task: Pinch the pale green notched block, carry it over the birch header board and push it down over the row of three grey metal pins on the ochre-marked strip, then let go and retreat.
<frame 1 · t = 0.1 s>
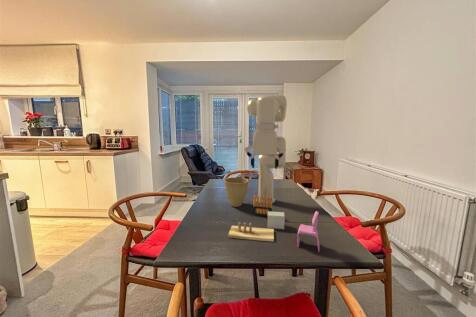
hand: (264, 167, 90), 31 cm above the table, fingers open, 9 cm apart
header board: (251, 234, 95), on the table
ammunition clip: (262, 215, 116), on the table
pale green notched block: (275, 226, 103), on the table
toy chair: (308, 246, 87), on the table
plant pot: (236, 204, 131), on the table
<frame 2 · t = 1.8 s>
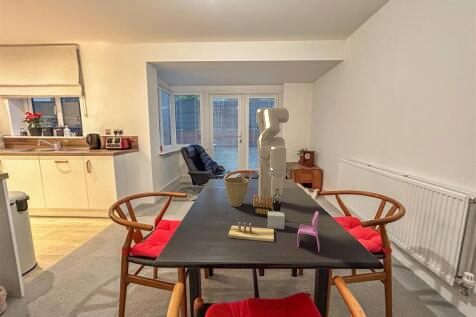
hand: (276, 207, 101), 10 cm above the table, fingers open, 9 cm apart
nothing on the table moved.
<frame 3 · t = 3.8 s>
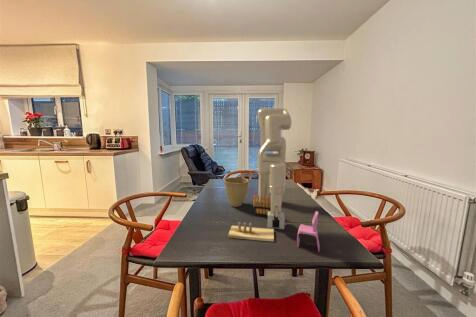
hand: (275, 224, 103), 1 cm above the table, fingers closed on pale green notched block, 4 cm apart
pale green notched block: (275, 226, 103), on the table, touching gripper
everything else where it was.
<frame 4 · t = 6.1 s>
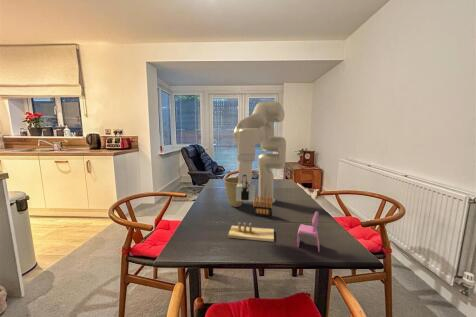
hand: (245, 197, 93), 17 cm above the table, fingers closed on pale green notched block, 4 cm apart
pale green notched block: (245, 199, 93), point 16 cm above the table, touching gripper
everything else where it was.
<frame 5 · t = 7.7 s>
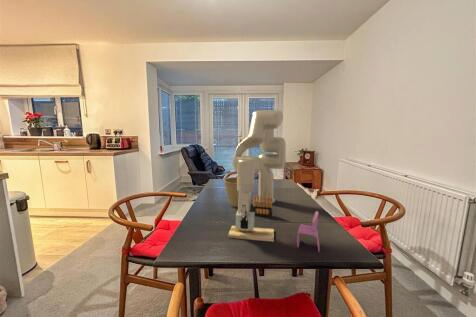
hand: (245, 225, 95), 4 cm above the table, fingers closed on pale green notched block, 4 cm apart
pale green notched block: (245, 227, 95), point 3 cm above the table, touching gripper
everything else where it was.
when the fingers open (3 cm above the table, at t = 8.9 s): pale green notched block drops 1 cm, resting on header board.
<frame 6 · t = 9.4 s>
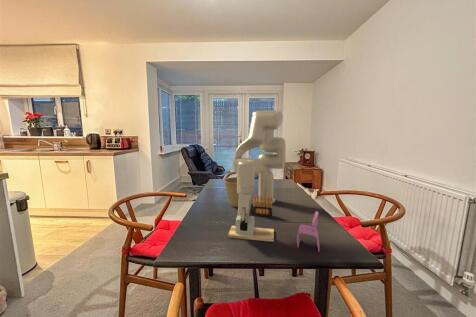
hand: (245, 225, 95), 4 cm above the table, fingers open, 9 cm apart
pale green notched block: (245, 231, 95), point 1 cm above the table, touching header board
everything else where it was.
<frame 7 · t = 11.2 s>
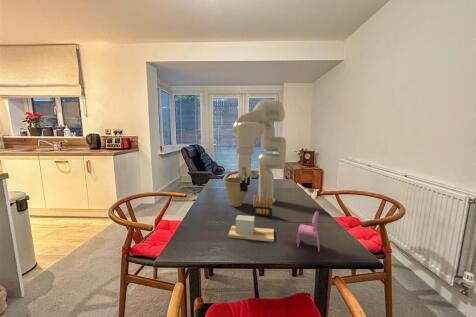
hand: (245, 187, 95), 21 cm above the table, fingers open, 9 cm apart
nothing on the table moved.
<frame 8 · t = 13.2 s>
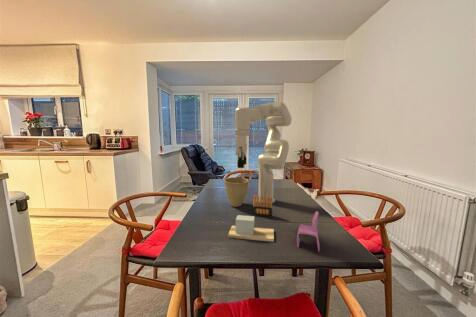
hand: (242, 166, 109), 28 cm above the table, fingers open, 9 cm apart
nothing on the table moved.
at the end: pale green notched block 0.1 cm from the target spot, point 1.2 cm above the table; pale green notched block tilted 0°; the gripper is holding nothing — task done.
